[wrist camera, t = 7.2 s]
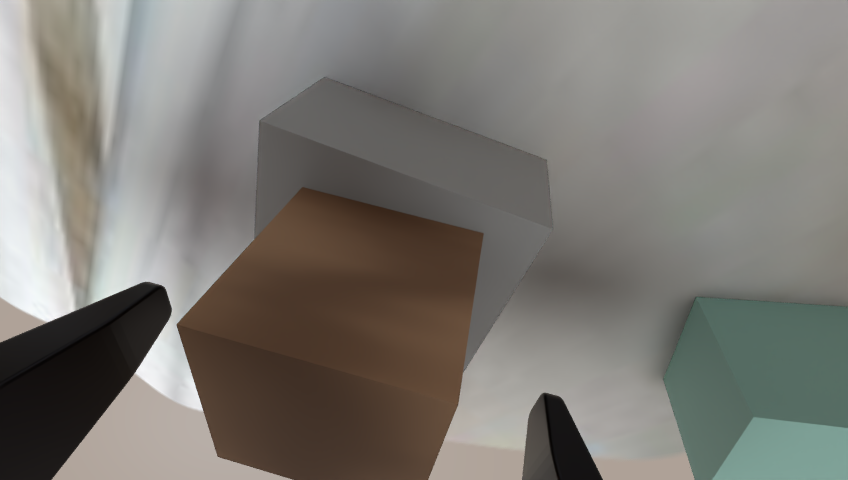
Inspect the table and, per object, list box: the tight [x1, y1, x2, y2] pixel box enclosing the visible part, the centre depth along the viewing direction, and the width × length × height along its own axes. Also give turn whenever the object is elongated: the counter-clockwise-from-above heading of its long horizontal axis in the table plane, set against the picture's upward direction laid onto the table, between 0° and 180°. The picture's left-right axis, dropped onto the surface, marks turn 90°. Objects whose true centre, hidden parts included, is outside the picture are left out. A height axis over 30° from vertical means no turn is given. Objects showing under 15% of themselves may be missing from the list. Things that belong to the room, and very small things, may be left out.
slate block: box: [254, 77, 553, 372], centre depth 13 cm, size 7×7×4 cm
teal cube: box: [663, 297, 848, 480], centre depth 13 cm, size 4×4×4 cm
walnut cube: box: [177, 187, 484, 480], centre depth 9 cm, size 4×4×4 cm
